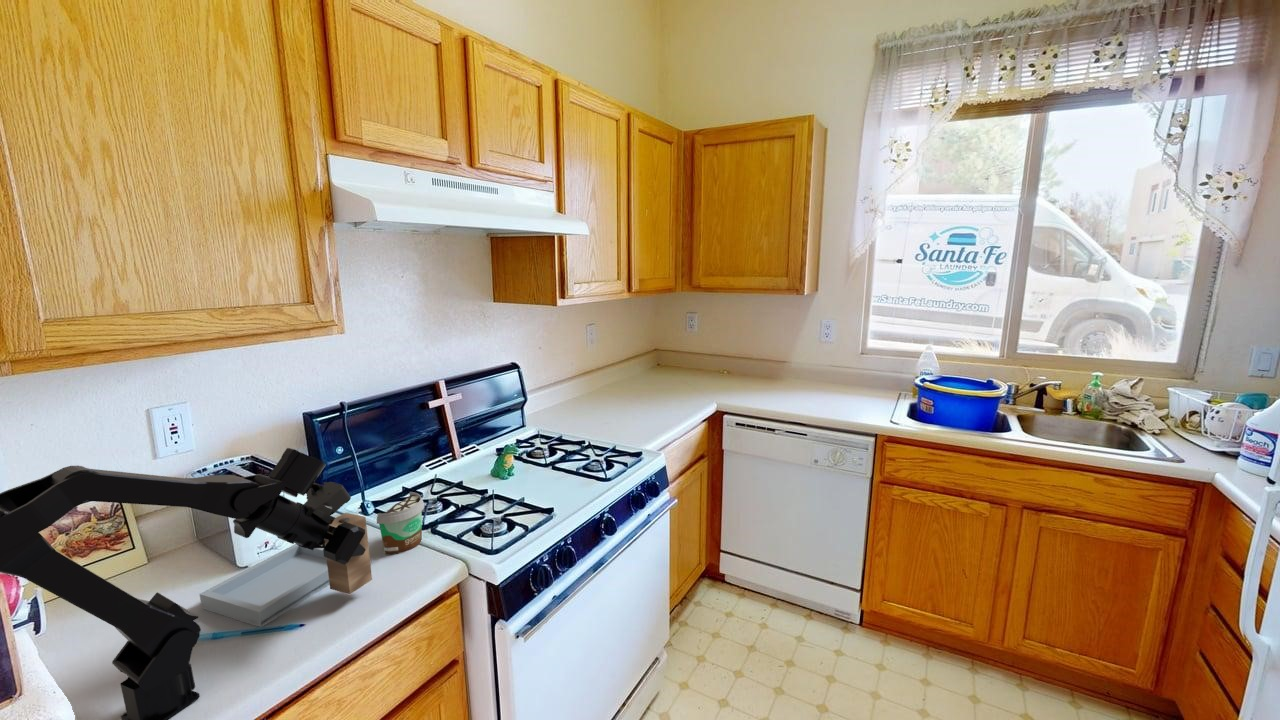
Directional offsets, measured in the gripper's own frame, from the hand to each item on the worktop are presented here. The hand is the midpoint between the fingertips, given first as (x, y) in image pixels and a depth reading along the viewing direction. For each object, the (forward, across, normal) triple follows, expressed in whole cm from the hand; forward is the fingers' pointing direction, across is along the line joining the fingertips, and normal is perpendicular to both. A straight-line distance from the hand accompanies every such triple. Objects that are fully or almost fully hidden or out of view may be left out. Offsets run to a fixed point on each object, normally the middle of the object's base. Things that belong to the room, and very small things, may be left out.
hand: (354, 548), depth 101 cm
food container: (+19, +7, -5) cm, 20 cm away
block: (+4, 0, +6) cm, 7 cm away
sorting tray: (+3, +16, +10) cm, 19 cm away
